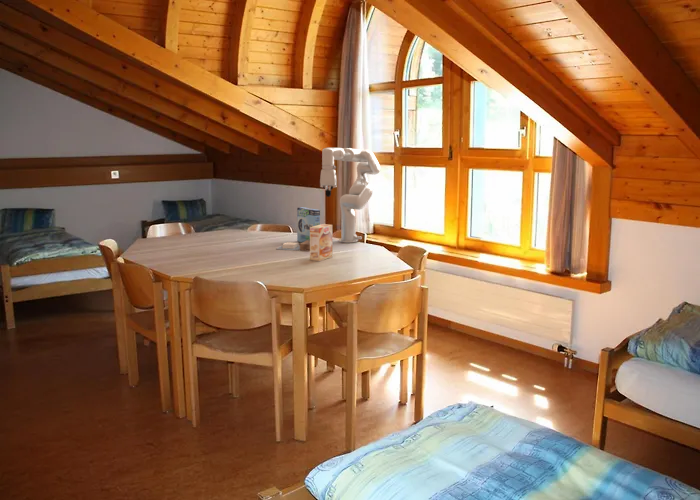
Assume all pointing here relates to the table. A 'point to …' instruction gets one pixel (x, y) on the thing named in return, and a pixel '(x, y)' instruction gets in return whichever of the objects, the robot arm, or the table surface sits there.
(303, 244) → the board
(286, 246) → the cream coaster
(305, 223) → the gum box
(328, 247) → the coffeecake box
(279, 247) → the slate mat
